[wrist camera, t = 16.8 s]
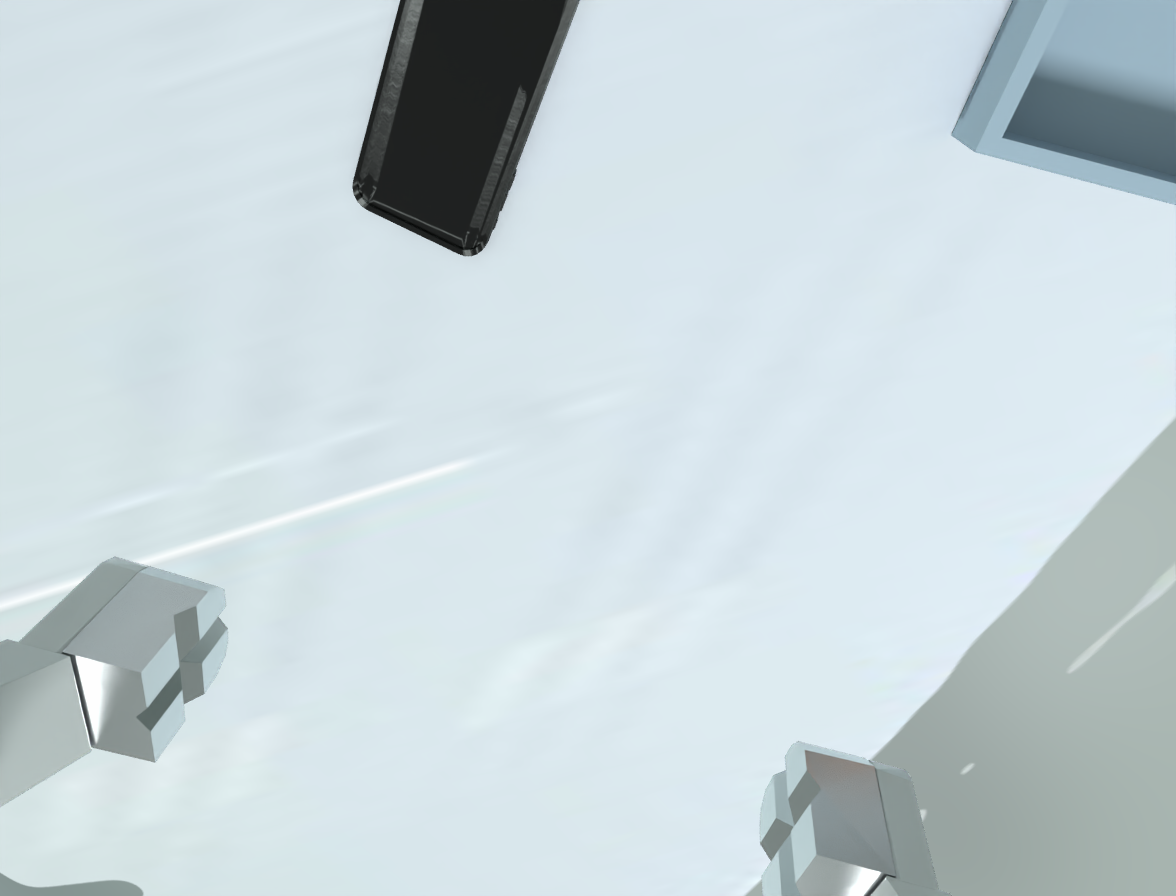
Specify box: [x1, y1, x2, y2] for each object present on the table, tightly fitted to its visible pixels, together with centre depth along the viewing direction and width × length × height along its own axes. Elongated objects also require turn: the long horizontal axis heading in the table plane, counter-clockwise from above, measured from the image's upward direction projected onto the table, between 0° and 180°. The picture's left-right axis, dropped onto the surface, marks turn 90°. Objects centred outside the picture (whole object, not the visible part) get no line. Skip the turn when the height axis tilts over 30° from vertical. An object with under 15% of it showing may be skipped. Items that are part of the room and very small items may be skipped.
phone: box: [353, 0, 580, 256], centre depth 39 cm, size 8×1×15 cm
